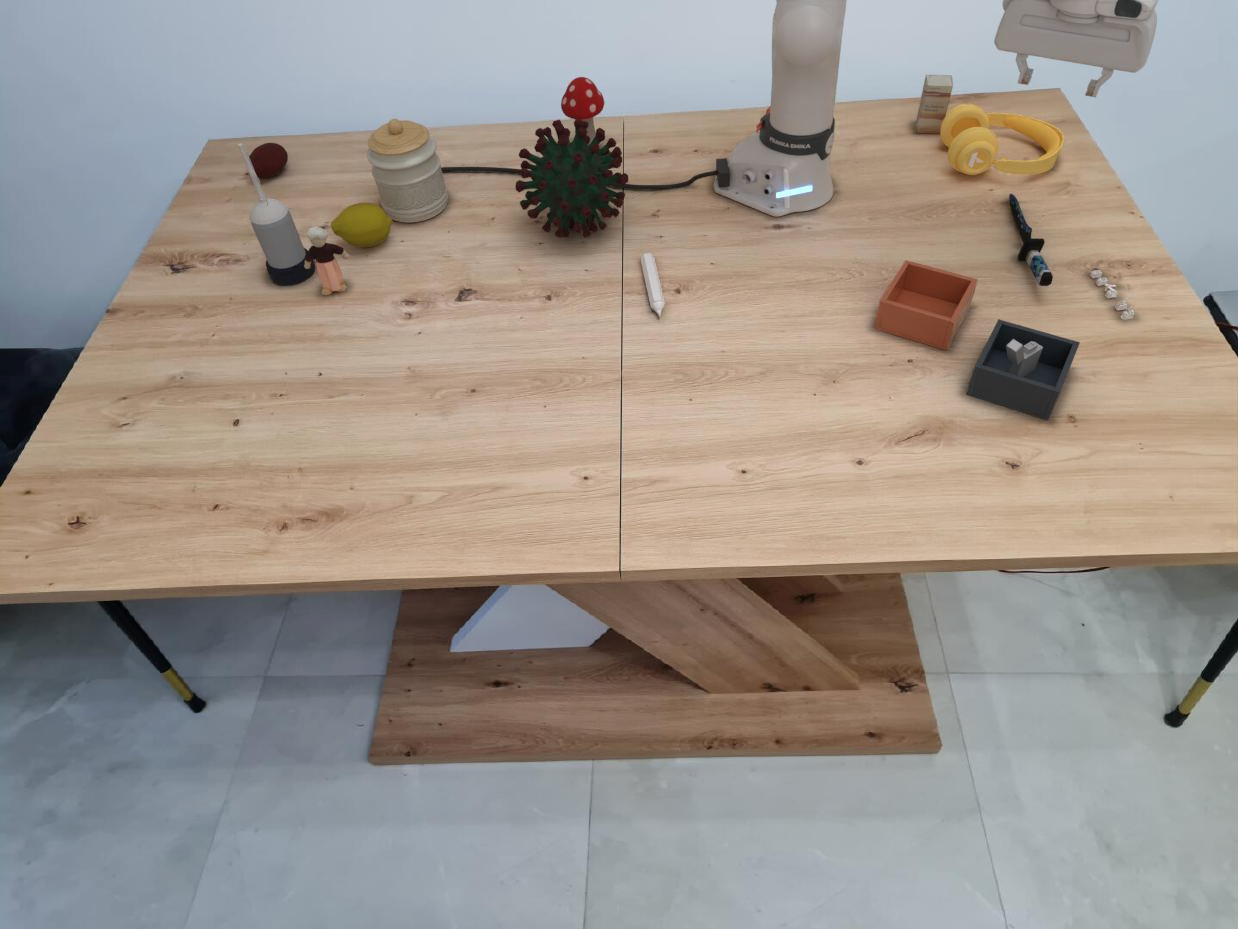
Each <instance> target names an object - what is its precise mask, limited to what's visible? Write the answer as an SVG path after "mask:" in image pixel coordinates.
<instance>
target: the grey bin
mask: <svg viewBox="0 0 1238 929" xmlns="http://www.w3.org/2000/svg"><path fill="white" fill-rule="evenodd" d="M1012 339H1014V340H1016V341H1017V342H1019V343H1020V344H1022V345H1023V346H1024V345H1026V344H1028V343H1029V342H1031V341H1032V342H1036V343H1037V344H1039V345H1041V346H1042V347H1043V349H1042V352H1041V354H1040V357H1039V360H1038V362H1037V365H1036V368H1035V370H1033V371H1032V372H1030V373H1029V374H1027V375H1025V376H1024V377H1021V376H1017V375H1014V374H1011V373H1008V372H1009V369H1010V366H1011V364H1012V362H1011V361H1010V360H1008V356H1007V349H1006V345H1007V344H1008V343H1009V342H1010V341H1011V340H1012ZM1080 344H1081V341H1077V340H1073V339H1070V338H1066V337H1062V336H1059V335H1055V334H1052V333H1048V332H1045V331H1041V330H1038V329H1034V328H1031V327H1027V326H1023V325H1020V324H1017V323H1013V322H1010V321H1007V320H1003V319H997V321H996V323H995V325H994V327H993V329H992V331H991V333H990V335H989V337H988V339H987V341H986V343H985V345H984V346H983V349H982V351H981V354H980V355H979V357H978V359H977V361H976V363H975V366H974V368H973V370H972V374H971V378H970V381H969V384H968V387H967V391H966V395H967V396H970V397H973V398H977V399H979V400H982V401H986V402H989V403H992V404H995V405H998V406H1002V407H1005V408H1008V409H1010V410H1014V411H1017V412H1021V413H1022V414H1023V413H1024V414H1027V415H1029V416H1032V417H1036V418H1040V419H1043V420H1046V421H1049V420H1050V418H1051V415H1052V412H1053V410H1054V408H1055V405H1056V403H1057V400H1058V398H1059V396H1060V393H1061V392H1062V389H1063V386H1064V383H1065V382H1066V378H1067V376H1068V373H1069V371H1070V368H1071V367H1072V363H1073V362H1074V358H1075V357H1076V354H1077V351H1078V349H1079V347H1080Z"/></svg>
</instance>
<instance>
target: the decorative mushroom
mask: <svg viewBox="0 0 1238 929" xmlns="http://www.w3.org/2000/svg"><path fill="white" fill-rule="evenodd" d="M604 107H605V98H604V95H603V93H602V92H601V91H600V90H599V89H598V87H597V86H596V84H595V83H594V81H592V80H591V79H590V78H588V77H585V76H578V77H575V78H574V79H572V80H571V81H570V82H569V83H568V85H567V87H566V90H565V92H564V94H563V96H562V97H561V102H560V108H561V112H562V114H564V116H566V117H568V119H572V120H574V121H575V120H576V119H578V120H582V121H585V122H588V128H587V131H588V132H587V135H588V136H589V137H590V142H589V144H590V143H591V142H592V140H593V139H594V137H595V135H596V128H595V122H594V118H595V117H597V116H598V115H599V114H601V112H602V111H603V110H604ZM589 144H588V145H589ZM599 147H600V148H601V142H600V143H599Z"/></svg>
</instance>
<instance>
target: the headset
mask: <svg viewBox="0 0 1238 929" xmlns="http://www.w3.org/2000/svg"><path fill="white" fill-rule="evenodd" d="M990 126H992V127H1000V128H1001V127H1002V128H1007V129H1011V130H1013V131H1015V132H1017V133H1019V134H1021V135H1023V136H1025V137H1027V138H1029V139H1030V140H1032V141H1033V142H1034V143H1036V144H1038V146H1040V147H1041V148H1042V149H1043V150H1044V151H1045V152H1046V153H1045V154H1043V155H1042V156H1039V157H1037V158H1035V159H1033V160H1014V159H1013V160H1011V159H1008V158H1006V157H1002V158H999V159H998V160H996V158H997V155H998V153H999V141H998V137H997V135H996V134H995V132H994V131H992V130H991V129H989V128H990ZM940 138H941V141H942V143H943V144H944V145H945V146H946V147H947V148H948V149H947V158H948V162H949V164H950V165H951V167H952V168H953V169H954V170H956V171H957V172H959V173H961V174H965V175H968V176H976V175H980V174H982V173H984V172H986V171H987V170H988V169H989V168H990V167H991V166H992V165H993V168H994V169H995V170H996V171H999V172H1002V173H1005V174H1011V175H1022V176H1024V175H1026V176H1031V175H1032V176H1033V175H1039V174H1043V173H1046V172H1048V171H1051V170H1052V168H1053V167H1054V166H1055V164H1056V162H1057V159H1058V157H1059V154H1060V152H1061V151H1062V147H1063V145H1064V142H1065V141H1066V139H1065V134H1064V133H1063V131H1062V130H1060V128H1058V127H1057V126H1055V125H1053V124H1052V123H1049V122H1047V121H1043V120H1041V119H1038V118H1035V117H1031V116H1026V115H1022V114H1017V113H1010V112H1009V113H1008V112H986V111H985V109H983V107H980V106H979V105H976V104H971V103H962V104H961V103H960V104H958V105H956V106H954V107H952V108H951V109H950V110H948V111H947V113H946V116H945V118H944V119H943V121H942V124H941V134H940Z"/></svg>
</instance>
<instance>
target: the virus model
mask: <svg viewBox="0 0 1238 929" xmlns="http://www.w3.org/2000/svg"><path fill="white" fill-rule="evenodd" d="M551 124H552V125H551V126H552V128H554V131H555V133H556V136H557V142H556V140H555V138H554V137H553V135H552V133H553V132H552V128H551V127H549V126H545V127H544V128H542V127H539V128H537V129H536V130H535V132H534V135H535V136H536V137H538V139H537V141H536V143H535V145H534V148H533V149H534V151H535V153H539V154H540V155H541V156H542V157H540V156H538V155H535V154H533V153H531V152H530V151H529V150H528V149H527V148H524V147H523V148H522V149H520V150H519V152H518V157H519V159H525V160H522V162H521V163H520V166H519V167H520V169H521V171H520V173H519V174H520V177H521V179H528V178H530V179H531V180H527V181H523V180H520V179H519V180H517V181H515V190H516V192H518V193H519V194H520V193H521V192H523V191H526V190H527V191H526V193H525V194H524V198H525V199H521V200H520V201H519V204H520V207H521V210H528V211H527V212H526V214H527V216H528V217H529V218H530V219H535V220H536V219H538V217H539V215H540V214H541V213H542V212H544V211H545V210H546V209H549V211H548V212H547V213H546V218H547V220H546V222H545V223H544V224H543V225H542V226H541V230H542V231H543V232H545V233H547V234H549V233H550V231H551V230H552V225H553V226H554V227H555V228H557V229H556V231H555V232H554V237H556V238H560V239H561V238H569V237H570V230H569V229H572V231H573V232H574V233H575V234H580V233H581V232H582V237H583V238H584V239H586V238H590V237H591V236H592V233H596V232H597V231H598V229H599V230H601V231H604V230H605V229H607V228H608V225H607V223H606V222H605V221H603V220H602V219H607V218H609V219H611V218H612V217H614V218H617V217H618V216H619V215H620V214H621V212H620V210H619V209H621V208H622V206H623V205H624V200H625V197H626V194H625V192H623V191H618V192H617V191H615V190H613V189H610V188H608V187H607V186H606V185H608V184H610V183H618V184H621V185H623V186H624V185H625V184H628V183H629V174H628V173H626V172H623V173H622V172H618V171H617V172H615V173H613V170H612V169H619V168H620V167H622V164H623V156H622V154H623V153H622V149H621V148H620V147H619V146H617V141H616V140H615V138H613V137H610V138H608V140H607V141H606V143H605V144H604V145H603V146H602V147H601V146H600V147H599V143H600V144H601V143H602V142H604V141H605V140H606V130H604V128H602V127H598V128H595V132H596V135H595V137H594V139H593V140H592V142H591V143H590V144H589V142H590V137H589V136H588V135H587V132H588V131H587V128H588V122H585V121H582V120H578V119H576V120H575V119H574V121H573V125H574V137H573V139H572V140H571V141H570V136H571V130H570V128H567V127H565V126H564V124H563V122H562V121H561V119H556V120H553V122H552V123H551ZM588 144H589V145H588ZM611 148H613V149H612V150H610V149H611ZM527 160H528V161H527ZM529 161H530V162H531V163H530V162H529ZM532 163H533V164H532ZM529 170H531V171H529ZM532 171H534V172H532ZM531 190H532V191H531ZM609 203H612V204H613V205H614V206H615V207H616V208H615V207H612V206H611V205H610V204H609ZM530 206H533V207H534V208H532V209H528V208H529V207H530ZM598 211H599V213H600V215H601V217H600V215H599V213H598ZM601 218H602V219H601ZM595 220H596V222H597V223H598V225H597V224H596V223H595ZM587 223H588V225H587Z"/></svg>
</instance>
